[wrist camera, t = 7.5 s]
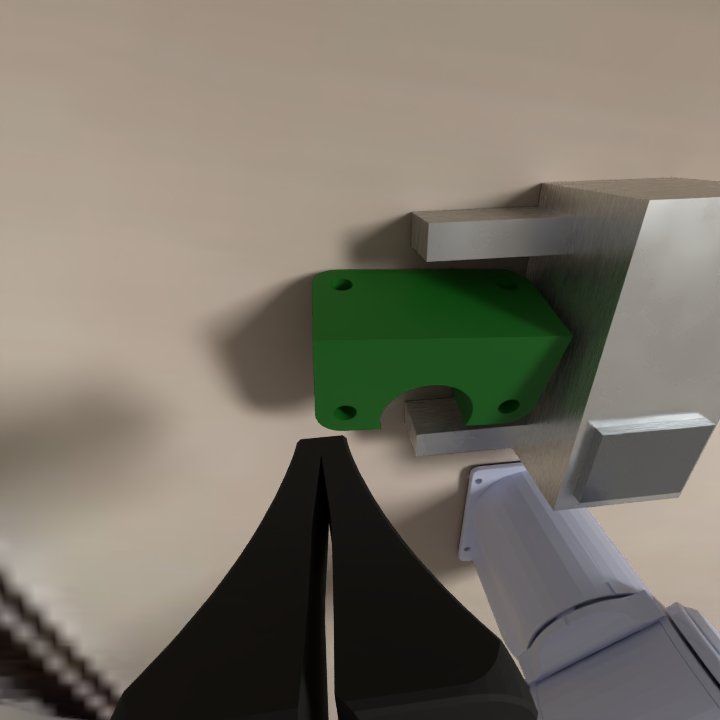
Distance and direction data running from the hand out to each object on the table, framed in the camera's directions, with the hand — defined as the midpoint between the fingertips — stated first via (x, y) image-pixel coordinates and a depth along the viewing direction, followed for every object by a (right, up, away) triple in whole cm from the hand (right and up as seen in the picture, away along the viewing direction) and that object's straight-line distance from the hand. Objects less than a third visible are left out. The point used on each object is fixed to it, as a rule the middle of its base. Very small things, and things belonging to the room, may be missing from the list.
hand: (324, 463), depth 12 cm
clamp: (+4, +5, +10) cm, 11 cm away
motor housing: (+10, +5, +10) cm, 15 cm away
